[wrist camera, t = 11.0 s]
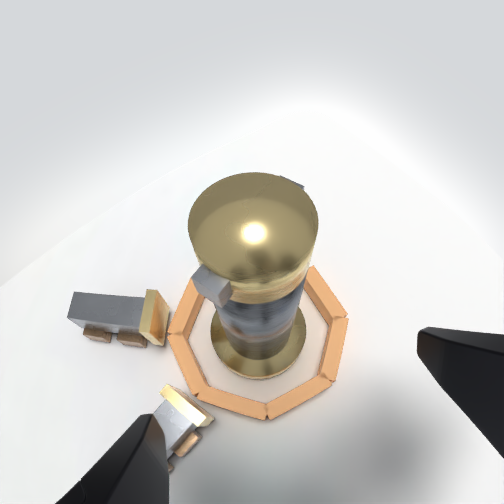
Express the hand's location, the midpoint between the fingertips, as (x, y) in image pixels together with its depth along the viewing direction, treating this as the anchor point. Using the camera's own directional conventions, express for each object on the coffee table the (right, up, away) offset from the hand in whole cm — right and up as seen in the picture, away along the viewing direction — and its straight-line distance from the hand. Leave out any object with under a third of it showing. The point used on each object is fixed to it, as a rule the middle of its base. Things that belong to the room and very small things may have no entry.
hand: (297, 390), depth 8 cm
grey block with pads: (-11, -1, +12) cm, 16 cm away
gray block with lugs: (-7, -8, +7) cm, 13 cm away
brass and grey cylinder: (-1, -1, +11) cm, 11 cm away
